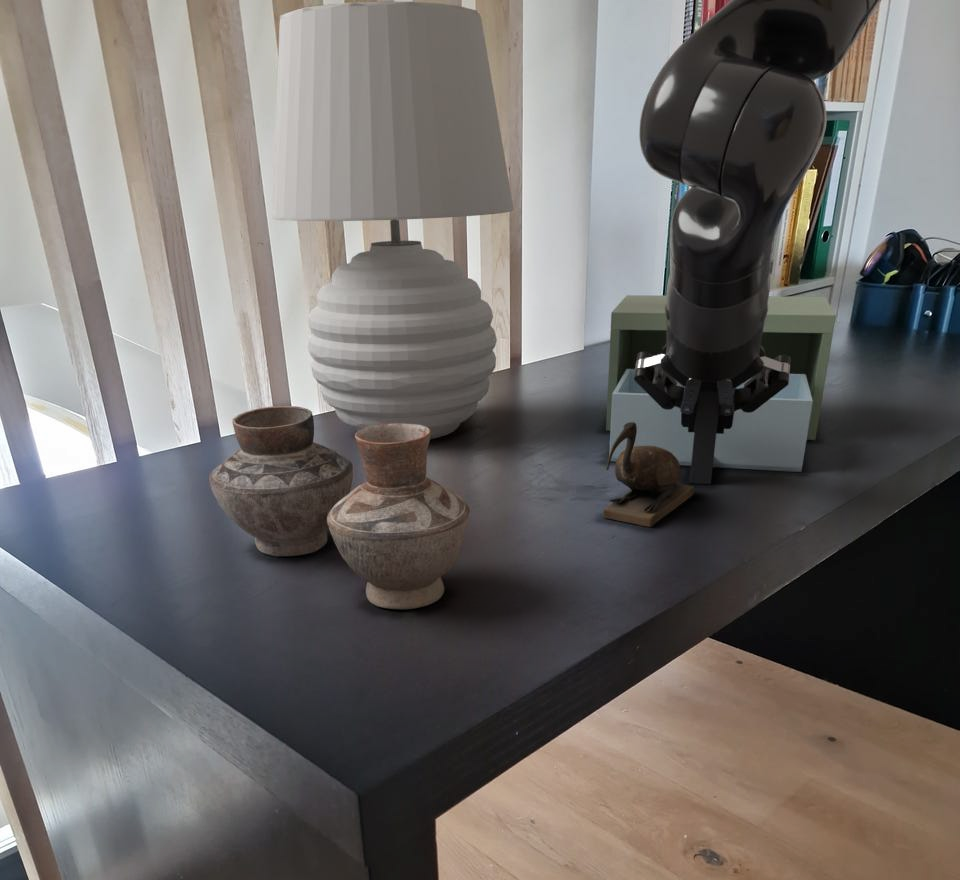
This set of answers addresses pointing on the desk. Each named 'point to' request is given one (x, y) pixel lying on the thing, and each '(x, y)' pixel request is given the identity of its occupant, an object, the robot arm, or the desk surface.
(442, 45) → the table lamp
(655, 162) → the robot arm
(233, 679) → the desk surface
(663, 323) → the cabinet
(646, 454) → the figurine
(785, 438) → the bin
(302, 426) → the pottery
